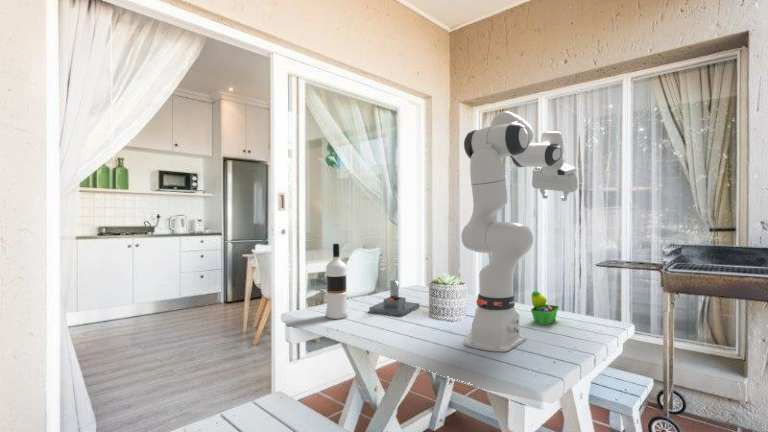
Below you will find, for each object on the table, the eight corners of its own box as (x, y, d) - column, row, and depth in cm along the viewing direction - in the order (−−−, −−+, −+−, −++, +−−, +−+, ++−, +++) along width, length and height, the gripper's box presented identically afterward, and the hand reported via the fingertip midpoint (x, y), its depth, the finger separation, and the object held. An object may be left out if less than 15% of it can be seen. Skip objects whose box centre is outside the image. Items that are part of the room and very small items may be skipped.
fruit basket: (551, 326, 149) (551, 295, 149) (527, 322, 154) (526, 292, 154) (559, 319, 158) (559, 290, 158) (536, 315, 163) (535, 287, 163)
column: (396, 306, 173) (396, 282, 173) (388, 305, 175) (388, 281, 175) (400, 304, 177) (400, 280, 176) (392, 303, 179) (392, 279, 178)
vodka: (336, 321, 160) (334, 245, 160) (321, 317, 166) (319, 243, 166) (353, 316, 167) (352, 243, 166) (338, 312, 173) (337, 242, 173)
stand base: (402, 316, 165) (402, 302, 165) (369, 312, 173) (369, 298, 173) (419, 307, 179) (419, 294, 179) (387, 304, 187) (387, 291, 187)
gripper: (528, 169, 182) (529, 198, 186) (570, 172, 165) (571, 204, 169) (536, 165, 185) (538, 194, 189) (579, 168, 168) (580, 200, 172)
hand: (554, 199), depth 179 cm, fingers open, 8 cm apart
